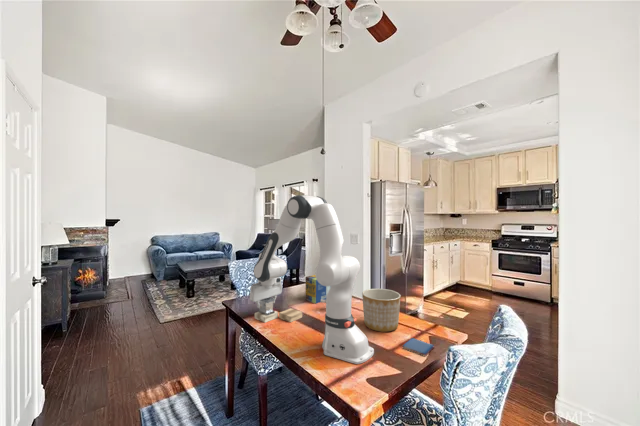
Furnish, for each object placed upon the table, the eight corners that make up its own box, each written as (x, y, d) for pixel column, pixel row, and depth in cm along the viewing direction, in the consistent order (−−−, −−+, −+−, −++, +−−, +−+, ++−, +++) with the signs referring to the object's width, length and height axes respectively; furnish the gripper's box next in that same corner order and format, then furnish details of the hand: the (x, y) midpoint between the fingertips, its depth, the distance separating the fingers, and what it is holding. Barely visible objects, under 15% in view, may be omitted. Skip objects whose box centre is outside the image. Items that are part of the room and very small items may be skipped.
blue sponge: (411, 340, 126) (411, 336, 126) (434, 349, 119) (434, 344, 119) (400, 349, 118) (401, 344, 118) (425, 358, 111) (425, 353, 111)
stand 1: (277, 317, 151) (277, 312, 151) (265, 322, 144) (265, 317, 144) (267, 313, 157) (267, 308, 157) (254, 318, 150) (254, 312, 150)
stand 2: (302, 317, 152) (302, 311, 152) (290, 322, 145) (290, 316, 145) (290, 313, 158) (290, 308, 158) (279, 318, 151) (279, 312, 151)
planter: (371, 315, 155) (371, 286, 155) (405, 323, 144) (405, 292, 144) (355, 327, 139) (355, 295, 139) (392, 337, 128) (392, 302, 128)
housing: (274, 313, 150) (274, 298, 150) (267, 315, 146) (267, 300, 146) (265, 309, 155) (265, 295, 155) (258, 312, 151) (258, 297, 151)
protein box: (305, 300, 181) (305, 276, 181) (322, 295, 192) (322, 273, 191) (315, 304, 173) (315, 279, 173) (332, 298, 184) (332, 275, 184)
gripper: (254, 285, 140) (254, 312, 141) (283, 278, 156) (283, 302, 156) (247, 283, 144) (247, 309, 145) (276, 276, 160) (276, 299, 160)
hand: (266, 305), depth 151 cm, fingers open, 8 cm apart
